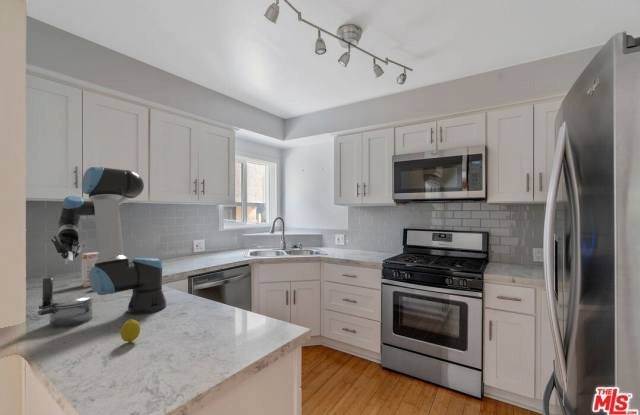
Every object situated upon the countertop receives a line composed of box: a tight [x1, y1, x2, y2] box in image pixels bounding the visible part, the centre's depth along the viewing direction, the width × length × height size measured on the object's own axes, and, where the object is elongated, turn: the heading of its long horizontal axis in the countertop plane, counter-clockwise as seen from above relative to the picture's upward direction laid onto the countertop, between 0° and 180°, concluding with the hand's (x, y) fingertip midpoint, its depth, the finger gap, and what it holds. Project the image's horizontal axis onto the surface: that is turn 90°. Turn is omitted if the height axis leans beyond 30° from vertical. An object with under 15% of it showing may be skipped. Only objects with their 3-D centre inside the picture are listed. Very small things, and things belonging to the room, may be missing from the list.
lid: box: [38, 276, 94, 310], centre depth 114 cm, size 17×13×11 cm
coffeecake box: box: [81, 251, 99, 288], centre depth 176 cm, size 15×7×20 cm, turn 144°
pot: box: [37, 298, 94, 329], centre depth 114 cm, size 16×14×8 cm
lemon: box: [120, 318, 141, 344], centre depth 97 cm, size 6×6×8 cm
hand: (68, 262), depth 125 cm, fingers closed
